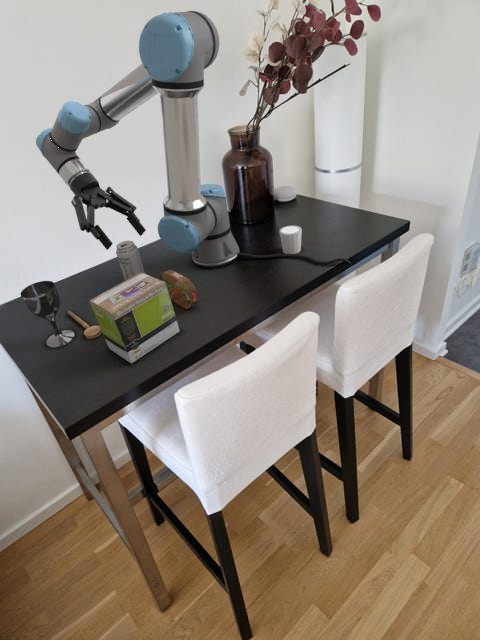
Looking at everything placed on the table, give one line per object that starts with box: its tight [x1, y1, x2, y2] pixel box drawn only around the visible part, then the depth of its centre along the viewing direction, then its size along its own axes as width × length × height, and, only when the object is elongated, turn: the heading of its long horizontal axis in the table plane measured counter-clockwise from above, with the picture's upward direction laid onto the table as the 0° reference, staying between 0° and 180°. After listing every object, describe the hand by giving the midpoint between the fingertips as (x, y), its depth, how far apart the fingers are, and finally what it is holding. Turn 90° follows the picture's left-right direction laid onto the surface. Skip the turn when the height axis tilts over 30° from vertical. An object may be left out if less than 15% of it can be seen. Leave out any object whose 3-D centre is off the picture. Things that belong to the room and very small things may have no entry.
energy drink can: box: [115, 240, 146, 281], centre depth 122 cm, size 6×6×15 cm
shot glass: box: [279, 225, 303, 254], centre depth 133 cm, size 7×7×7 cm
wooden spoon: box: [67, 310, 103, 340], centre depth 115 cm, size 17×4×1 cm, turn 42°
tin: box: [159, 269, 198, 310], centre depth 116 cm, size 15×3×8 cm, turn 40°
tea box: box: [89, 272, 180, 365], centre depth 101 cm, size 15×10×15 cm
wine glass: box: [20, 280, 75, 348], centre depth 107 cm, size 8×8×15 cm
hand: (127, 239), depth 122 cm, fingers open, 13 cm apart
